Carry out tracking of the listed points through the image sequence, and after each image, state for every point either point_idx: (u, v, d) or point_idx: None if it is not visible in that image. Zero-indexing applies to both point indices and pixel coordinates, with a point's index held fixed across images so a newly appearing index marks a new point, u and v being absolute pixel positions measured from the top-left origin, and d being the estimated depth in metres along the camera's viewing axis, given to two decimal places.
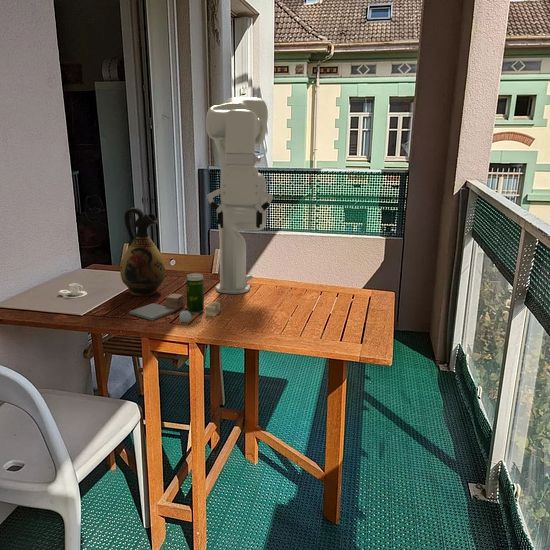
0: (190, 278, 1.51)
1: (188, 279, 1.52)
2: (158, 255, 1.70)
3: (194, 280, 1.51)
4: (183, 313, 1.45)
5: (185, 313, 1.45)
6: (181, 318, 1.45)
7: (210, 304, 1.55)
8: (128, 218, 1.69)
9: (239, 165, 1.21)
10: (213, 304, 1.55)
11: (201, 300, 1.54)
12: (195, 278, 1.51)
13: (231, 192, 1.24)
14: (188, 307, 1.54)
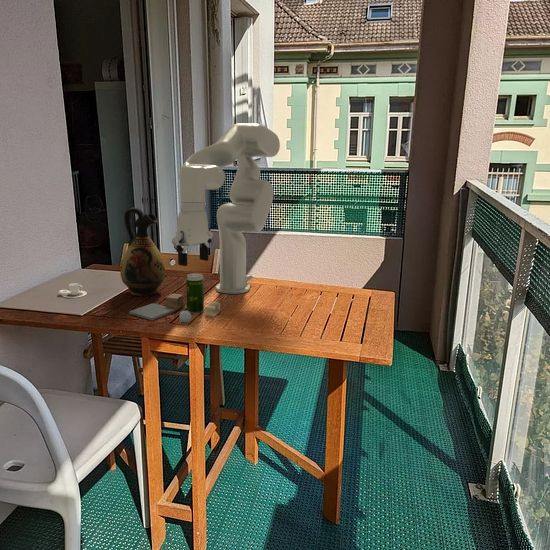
0: (190, 278, 1.51)
1: (188, 279, 1.52)
2: (158, 255, 1.70)
3: (194, 280, 1.51)
4: (183, 313, 1.45)
5: (185, 313, 1.45)
6: (181, 318, 1.45)
7: (210, 304, 1.55)
8: (128, 218, 1.69)
9: (201, 211, 1.46)
10: (213, 304, 1.55)
11: (201, 300, 1.54)
12: (195, 278, 1.51)
13: (193, 234, 1.46)
14: (188, 307, 1.54)
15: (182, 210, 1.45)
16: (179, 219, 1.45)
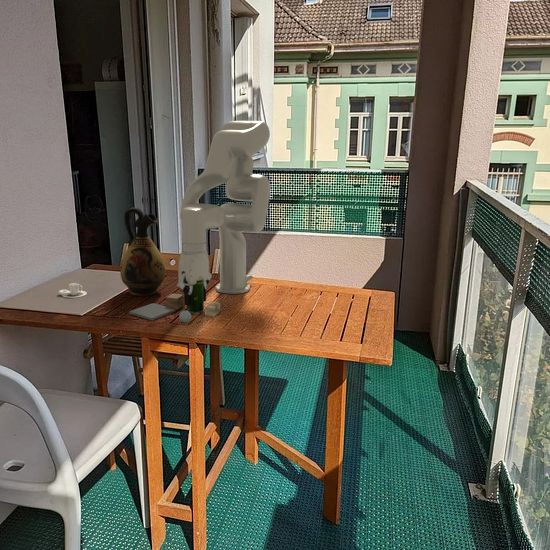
0: None
1: None
2: (158, 255, 1.70)
3: None
4: (183, 313, 1.45)
5: (185, 313, 1.45)
6: (181, 318, 1.45)
7: (210, 304, 1.55)
8: (128, 218, 1.69)
9: (202, 252, 1.49)
10: (213, 304, 1.55)
11: (201, 300, 1.54)
12: None
13: (195, 274, 1.50)
14: (188, 307, 1.54)
15: (183, 251, 1.49)
16: (181, 260, 1.49)
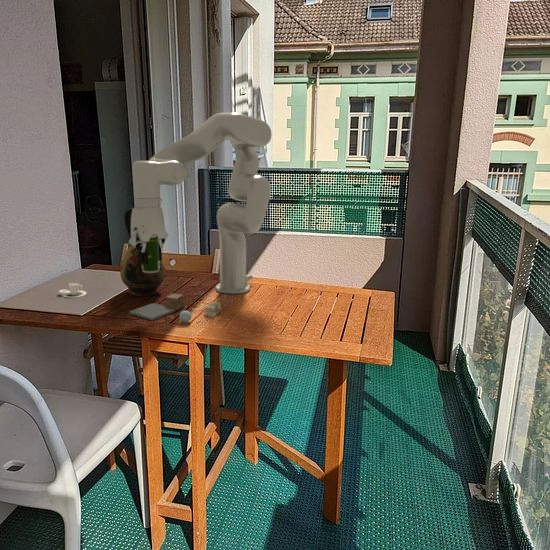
0: None
1: None
2: None
3: None
4: (183, 313, 1.45)
5: (185, 313, 1.45)
6: (181, 318, 1.45)
7: (210, 304, 1.55)
8: (128, 218, 1.69)
9: (155, 207, 1.43)
10: (213, 304, 1.55)
11: (156, 259, 1.48)
12: None
13: (148, 231, 1.44)
14: (142, 266, 1.49)
15: (136, 206, 1.43)
16: (133, 215, 1.43)
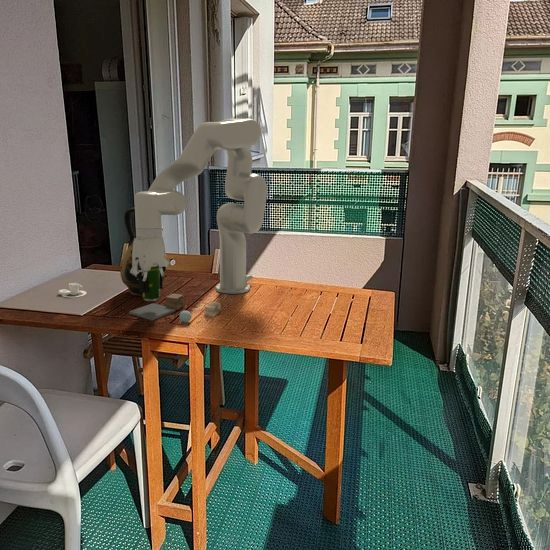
0: None
1: None
2: None
3: None
4: (183, 313, 1.45)
5: (185, 313, 1.45)
6: (181, 318, 1.45)
7: (210, 304, 1.55)
8: (128, 218, 1.69)
9: (156, 237, 1.46)
10: (213, 304, 1.55)
11: (157, 287, 1.51)
12: None
13: (149, 260, 1.47)
14: (143, 294, 1.51)
15: (137, 236, 1.46)
16: (134, 245, 1.45)
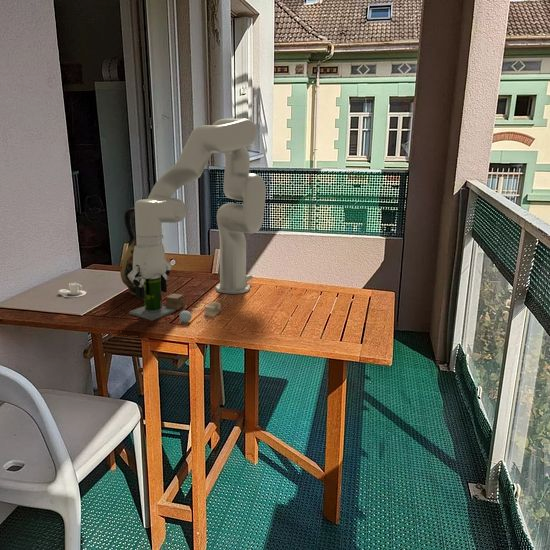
0: None
1: None
2: None
3: (150, 278, 1.49)
4: (183, 313, 1.45)
5: (185, 313, 1.45)
6: (181, 318, 1.45)
7: (210, 304, 1.55)
8: (128, 218, 1.69)
9: (157, 245, 1.46)
10: (213, 304, 1.55)
11: (158, 298, 1.52)
12: None
13: (150, 268, 1.47)
14: (145, 306, 1.52)
15: (138, 244, 1.46)
16: (135, 253, 1.46)
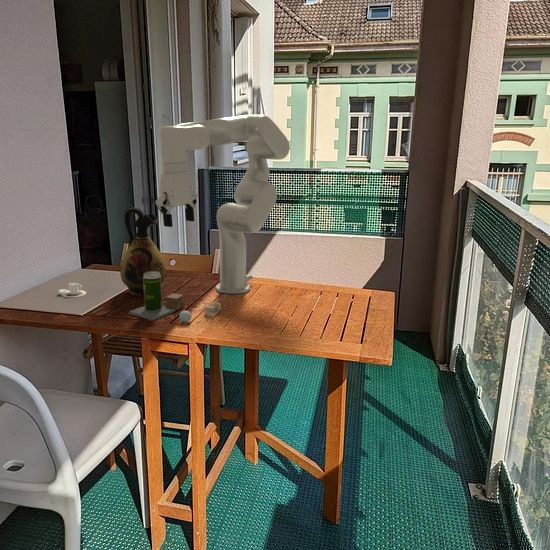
0: (146, 276, 1.49)
1: (144, 277, 1.50)
2: (158, 255, 1.70)
3: (150, 278, 1.49)
4: (183, 313, 1.45)
5: (185, 313, 1.45)
6: (181, 318, 1.45)
7: (210, 304, 1.55)
8: (128, 218, 1.69)
9: (183, 172, 1.46)
10: (213, 304, 1.55)
11: (158, 298, 1.52)
12: (151, 276, 1.49)
13: (177, 195, 1.48)
14: (145, 306, 1.52)
15: (164, 171, 1.46)
16: (162, 180, 1.46)
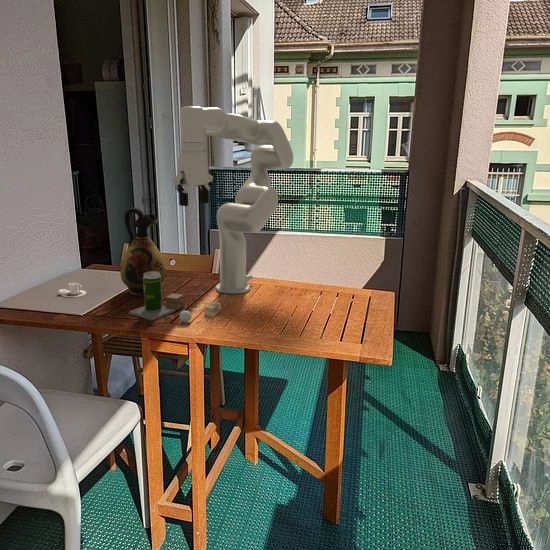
0: (146, 276, 1.49)
1: (144, 277, 1.50)
2: (158, 255, 1.70)
3: (150, 278, 1.49)
4: (183, 313, 1.45)
5: (185, 313, 1.45)
6: (181, 318, 1.45)
7: (210, 304, 1.55)
8: (128, 218, 1.69)
9: (201, 152, 1.49)
10: (213, 304, 1.55)
11: (158, 298, 1.52)
12: (151, 276, 1.49)
13: (194, 175, 1.50)
14: (145, 306, 1.52)
15: (182, 150, 1.48)
16: (180, 159, 1.48)
